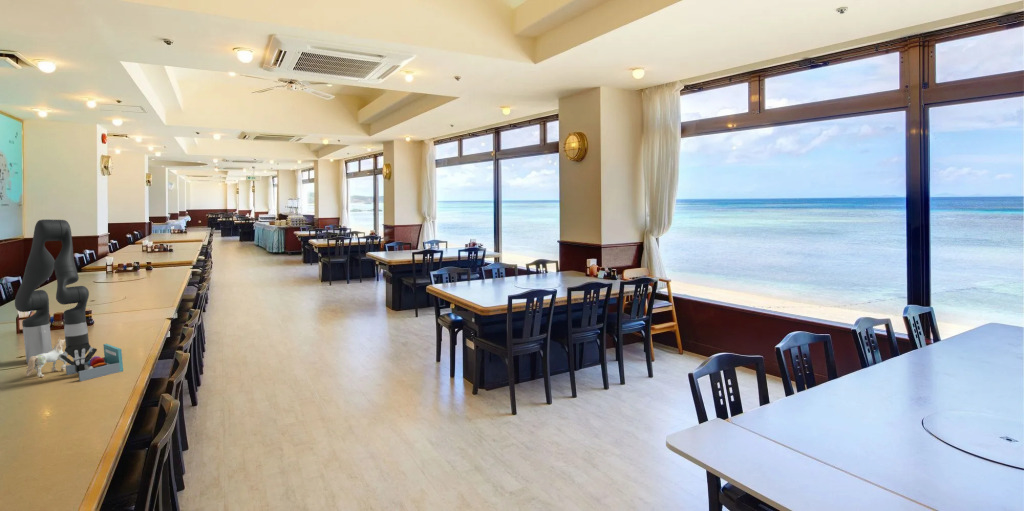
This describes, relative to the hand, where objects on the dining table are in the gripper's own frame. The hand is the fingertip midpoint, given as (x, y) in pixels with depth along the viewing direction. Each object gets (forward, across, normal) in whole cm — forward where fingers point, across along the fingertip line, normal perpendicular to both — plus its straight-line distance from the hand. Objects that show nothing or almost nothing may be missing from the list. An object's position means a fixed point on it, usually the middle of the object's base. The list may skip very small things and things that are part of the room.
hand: (80, 372), depth 220 cm
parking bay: (+2, -6, 0) cm, 6 cm away
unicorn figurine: (+2, +6, -18) cm, 19 cm away
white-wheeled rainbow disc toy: (+2, -6, 0) cm, 6 cm away
